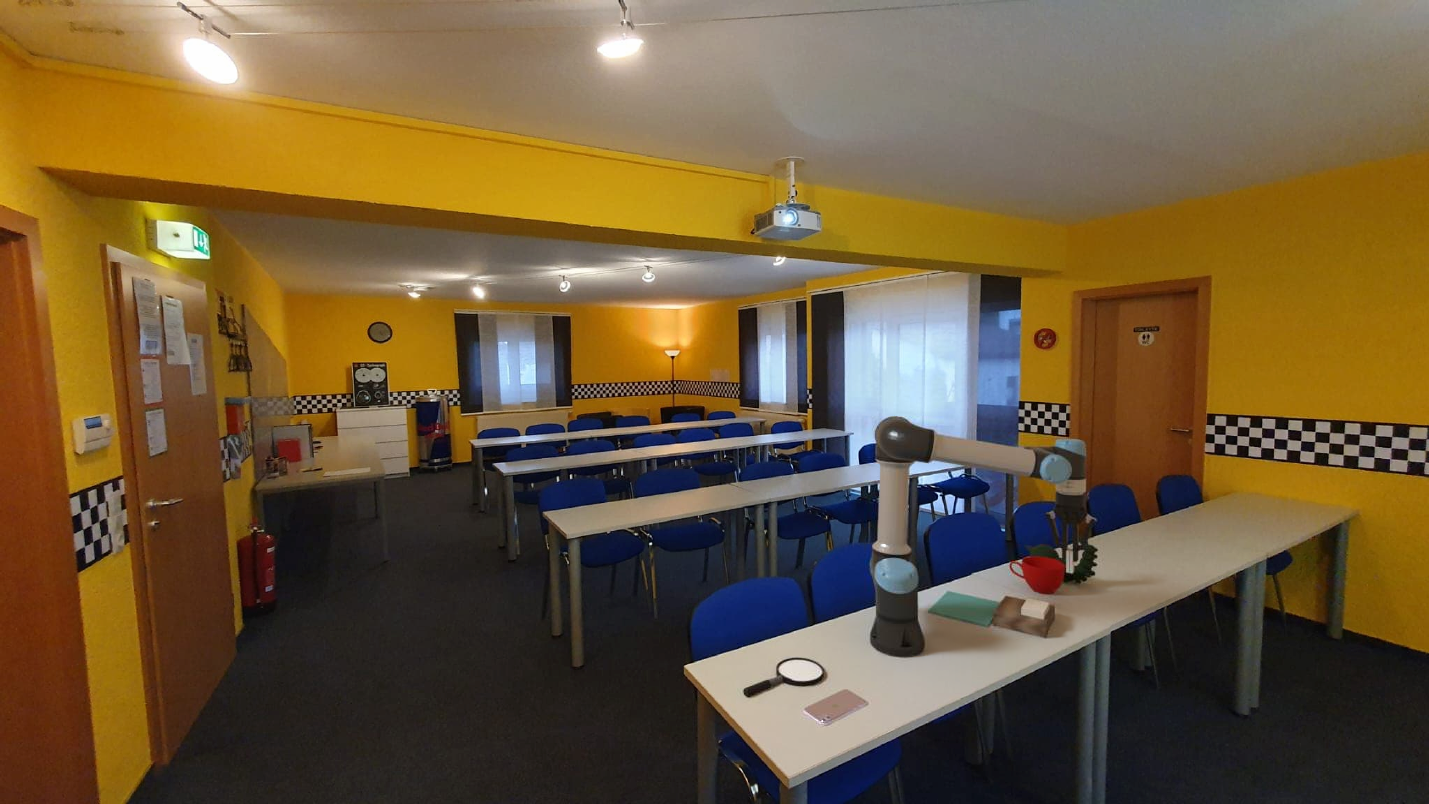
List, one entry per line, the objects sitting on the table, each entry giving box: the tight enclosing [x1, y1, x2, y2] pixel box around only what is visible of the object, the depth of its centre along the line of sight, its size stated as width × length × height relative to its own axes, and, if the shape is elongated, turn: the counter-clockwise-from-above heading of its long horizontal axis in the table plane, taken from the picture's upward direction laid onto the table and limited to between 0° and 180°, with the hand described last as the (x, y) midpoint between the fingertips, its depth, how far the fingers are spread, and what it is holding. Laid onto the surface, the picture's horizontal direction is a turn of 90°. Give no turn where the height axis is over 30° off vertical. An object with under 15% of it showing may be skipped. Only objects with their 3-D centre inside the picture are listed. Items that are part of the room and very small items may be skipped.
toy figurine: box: [1024, 535, 1099, 585], centre depth 210 cm, size 9×19×25 cm
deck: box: [992, 595, 1056, 639], centre depth 176 cm, size 14×16×4 cm
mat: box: [927, 590, 1001, 628], centre depth 187 cm, size 18×20×1 cm
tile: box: [1021, 598, 1050, 620], centre depth 174 cm, size 6×9×2 cm, turn 141°
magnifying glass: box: [742, 656, 825, 698], centre depth 148 cm, size 12×24×2 cm, turn 123°
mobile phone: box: [802, 689, 868, 727], centre depth 136 cm, size 8×1×15 cm
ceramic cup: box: [1009, 556, 1065, 595], centre depth 200 cm, size 13×17×10 cm
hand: (1070, 571), depth 167 cm, fingers closed
